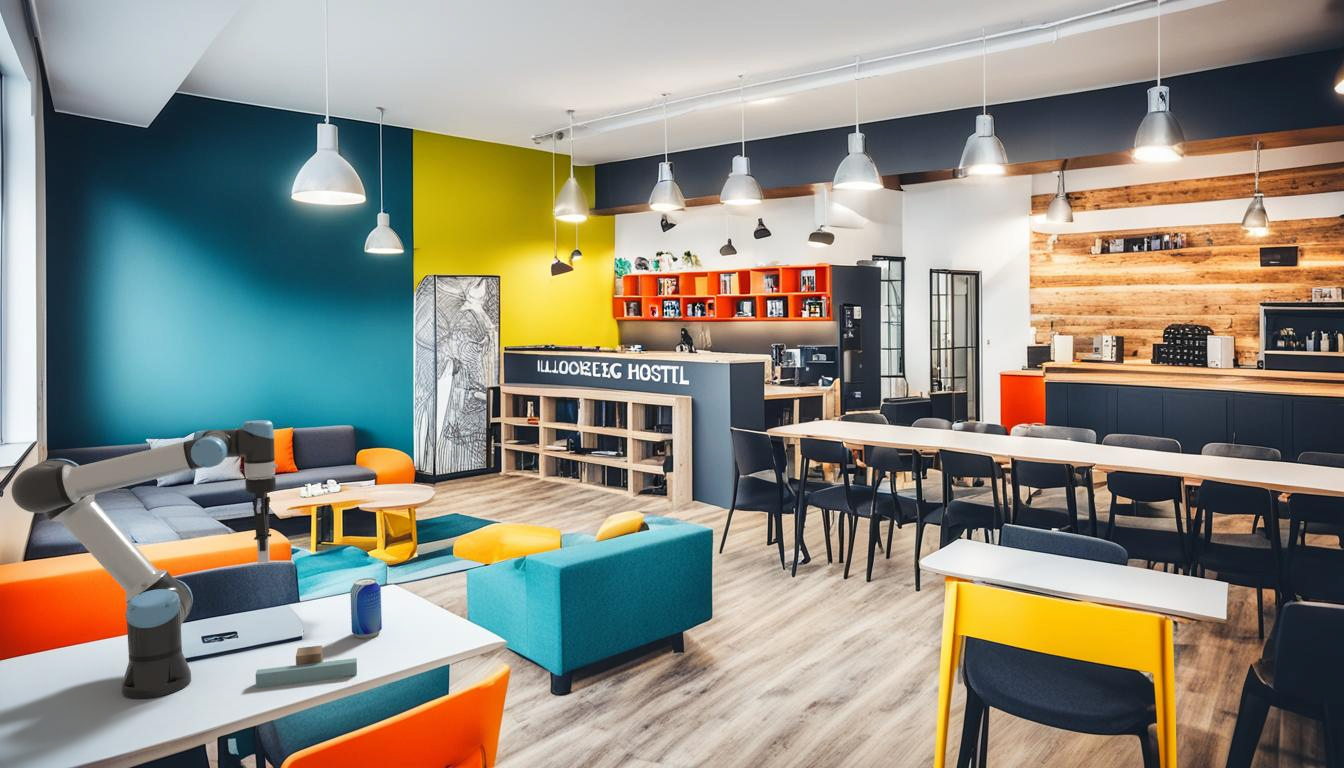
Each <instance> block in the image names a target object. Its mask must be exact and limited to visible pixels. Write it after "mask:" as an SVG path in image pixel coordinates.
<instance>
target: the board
mask: <svg viewBox="0 0 1344 768" xmlns="http://www.w3.org/2000/svg"><path fill="white" fill-rule="evenodd" d="M357 661H358V658H357V657H355V658H353V657H352V658H345V659H338V660H328V661H323V662H319V663H311V664H302V665H296V664H295V665H286V666H279V667H277V666H276V667H269V668H268V667H267V668H261V669H260V668H259V669H256V672H255V688H265V687H273V686H274V687H275V686H280V685H289V684H297V683H305V682H313V681H321V680H322V679H323V680H328V679H327V678H331V679H336V678H335V677H339V678H344V677H343V676H347V677H352V676H351V675H355V676H357V675H358V666H357V665H358V662H357Z"/></svg>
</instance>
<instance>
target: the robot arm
mask: <svg viewBox="0 0 1344 768" xmlns="http://www.w3.org/2000/svg"><path fill="white" fill-rule="evenodd" d="M237 457H238V458H240V457H243V458H244V463H243V464H244V477H245V478H246V479H245V480H244V482H245V492H246V493H248V494H254V497H253V499H252V506H253V508H252V510H253V515H254V527H255V537H254V538H253V540H254V541H256V543H257V545H256V546H257V563H258V564H260V563H269V562H270V540H269V539H270V538H269V537H272V533H270V502H271V497H270V496H268V493H270V492H274V491H275V490H276V489H277V485H276V484H277V482H276V477H275V475H276V469H277V468H278V464H277V463H275V461H276V459H275V457H276V456H275V434H274V424H273V423H272V422H271V421H270V420H266V419H265V420H264V419H263V420H261V419H260V420H259V419H256V420H247V421H244V422H243V423H242V428H237V429H212V430H211V429H207V430H198V431H196V432H194V433H193V437H192V439H190V440H185V441H181V442H177V443H173V444H169V445H165V446H161V447H157V448H151V449H147V450H143V451H139V452H138V451H137V452H134V453H130V454H126V455H122V456H117V457H112V458H108V459H104V460H99V461H95V462H92V463H87V464H83V465H79V464H78V463H76V462H74V461H73V460H70V459H66V458H50V459H46V460H43V461H41V462H39V463H37V464H35V465H33V466H31V467H29V468H26V469H25V470H23V471H21V472H20V473H18V475H17V476H16V478H15V479H14V481H13V483H12V485H11V496H12V497H11V498H12V499H13V501H14V503H15V504H16V505H17V506H18V507H19V508H21V509H23V511H26V512H29V513H33V514H36V513H37V514H42V513H43V514H44V515H45V516H46V517H47V518H48V519H49V520H50V521H51V522H59V523H62V524H63V525H64V526H65V528H67V529H68V531H69V532H70V533H72V535H73V536H74V537H75V538H76V539H77V540H78V541H79V542H80V543H81V544H82V546H83V547H84V548H85V549H86V550H87V551H88V553H90V554H91V556H92V557H93V558H94V559H95V560H96V561H97V562H98V563H99V564H100V565H101V566H102V568H104V569H105V570H106V572H107V573H108V574H109V575H110V576H111V577H112V578H113V580H114V581H115V582H117V584H118V585H120V587H121V588H122V589H123V590H124V591H125V593H126V594H125V598H124V599H125V600H124V601H125V603H127V604H126V611H125V619H126V630H127V649H128V650H127V651H128V663H127V667H126V671H125V673H124V677H123V679H122V683H121V689H122V690H121V693H122V695H123V696H124V697H126V698H130V699H151V698H157V697H162V696H166V695H169V694H172V693H176V692H177V691H180V690H182V689H185V687H187V686H188V685H189V684H190V683H191V682H192V673H191V669H190V667H189V665H188V663H187V660H186V658H185V656H184V653H183V649H182V648H183V647H182V646H183V645H182V625H183V623H184V622H185V620H186V619H187V617H188V616H189V615H190V614H191V613H190V612H191V610H192V606H193V602H194V600H193V599H194V597H193V594H192V593H193V592H192V590H191V588H190V587H189V585H187V583H185V582H184V581H182V580H179V579H176V578H174V576H172V575H171V573H169V572H168V570H166V569H157V568H156V567H155V566H154V564H152V562H151V561H150V560H149V559H148V558H147V557H146V556H145V555H144V553H142V551H141V550H140V549H139V548H138V547H137V546H136V545H135V544H134V543H133V542H132V540H131V539H130V538H129V537H128V536H127V535H126V534H125V533H124V531H123V530H122V529H121V528H120V527H119V526H118V525H117V524H116V523H115V522H114V521H113V519H112V518H111V517H110V516H109V515H108V514H107V512H106V511H104V509H103V508H101V506H100V505H99V504H98V503H97V502H96V499H95V496H96V495H97V494H99V493H105V492H108V491H112V490H115V489H120V488H123V487H129V486H131V485H132V486H133V485H137V484H141V483H144V482H149V481H153V480H156V479H160V478H165V477H169V476H172V475H176V474H180V473H181V474H182V473H185V472H189V471H193V470H198V469H202V468H206V469H207V468H213V467H216V466H217V467H218V465H220V464H221V463H223V461H224V460H225V459H226V458H237Z"/></svg>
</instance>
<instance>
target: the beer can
mask: <svg viewBox="0 0 1344 768" xmlns="http://www.w3.org/2000/svg"><path fill="white" fill-rule="evenodd" d="M350 615H351V617H350V618H351V622H350V623H351V633H352V634H353V635H354V637H355V638H357V639H370V638H374V637H376V636H378V635H379V634H380V632H381V630H382V629H383V624H382V620H383V619H382V589H381V585H380V584H379V582H378V580H377V578H374V577H363V578H359V579H356V580H354V581H353V584H352V587H351V588H350Z"/></svg>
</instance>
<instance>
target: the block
mask: <svg viewBox="0 0 1344 768" xmlns="http://www.w3.org/2000/svg"><path fill="white" fill-rule="evenodd" d="M319 662H324V658H323V645H313V646H306V647H304V646H303V647H298V648H297V650H296V653H295V665H302V664H311V663H319Z"/></svg>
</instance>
